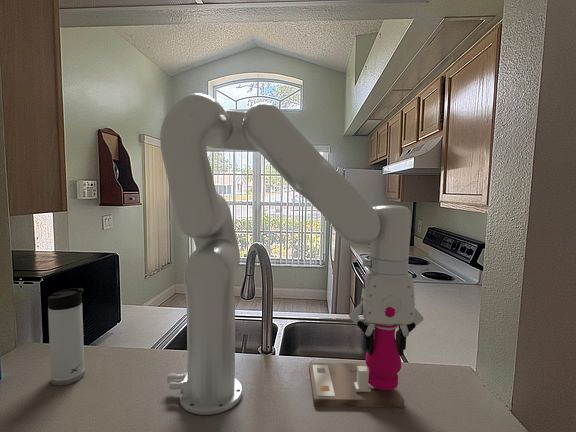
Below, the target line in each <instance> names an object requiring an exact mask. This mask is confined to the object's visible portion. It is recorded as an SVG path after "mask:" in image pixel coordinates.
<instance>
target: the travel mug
mask: <svg viewBox="0 0 576 432" xmlns="http://www.w3.org/2000/svg"><path fill="white" fill-rule="evenodd" d="M83 293H84V288H83V287H79V288H78V287H76V288H75V287H74V288H67V289H62V290H58V291H56V292H54V293H51V294H50V295H49V296H48V297H47V303H48V304H47V305H48V306H47V307H48V308H47V310H48V311H47V314H48V315H47V318H48V337H49V338H48V340H49V341H48V342H49V363H50V364H49V366H50V383H51V384H52V385H55V386H67V385H71V384H73V383H76V382H78V381H79V380H81V379H82V378H83V377H84V376H85V352H84V349H85V347H84V322H83V321H84V320H83V315H84V314H83V302H82V301H83V300H82V298H83V297H82V294H83Z"/></svg>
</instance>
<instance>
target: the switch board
mask: <svg viewBox="0 0 576 432" xmlns="http://www.w3.org/2000/svg"><path fill="white" fill-rule="evenodd" d="M308 365H309V366H308V370H309V372H308V373H309V379H310V385H311V394H312V401H313V407H340V408H341V407H345V408H346V407H349V408H351V407H353V408H354V407H355V408H366V407H367V408H405V399H404V396H403V395H402V393H401V391H400V389H399V388H398V386H397V387H396V388H395V389H392V390H381V389H377V388H375V387H373V386H371V385H370V384H369V386H370V388H371V392H356V390H355V387H354V382H357V366H367V365H366V363H362V362H361V363H360V362H359V363H353V362H350V363H349V362H348V363H346V362H345V363H344V362H338V363H337V362H309V363H308ZM367 368H368V367H367Z"/></svg>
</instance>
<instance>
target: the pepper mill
mask: <svg viewBox="0 0 576 432" xmlns="http://www.w3.org/2000/svg"><path fill="white" fill-rule="evenodd" d="M385 310H386V311H384V312H385V316H387V317H389V318H390V317H393V316H394V315H395V313H396V312H394V311H395V309H394V308H392V307H388V308H386V309H385ZM397 329H398V325H380V324H375V326H374V328H373V331H374V333H373V337H374V343H373V354H372V355H369V353H368V352H367V351H366V354H365V358H364V359H365V362H364V363H365V364H366V365H367V367H368V368H369V369H368V370H369V382H368V383H369V384H370V385H371V386H373V387H375V388H377V389H381V390H392V389H395V388H396V387H397V388H398V385H399V374H398V373H399V372H400V371H401V369H402V358H401V356H400V355H399V351H398V349H397V346H396V342H395V340H396V330H397Z"/></svg>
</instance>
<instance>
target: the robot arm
mask: <svg viewBox="0 0 576 432" xmlns="http://www.w3.org/2000/svg"><path fill="white" fill-rule="evenodd" d="M159 136H160V138H159V140H160V142H159V143H160V151H161V156H162V160H163V165H164V169H165V172H166V177H167V183H168V188H169V193H170V196H171V200H172V205H173V209H174V213H175V214H174V216H175V221H176V223H177V226H178V228H179V230H180V231H181V232H182V234H183V235H184V236H186V237H187V238H190V239H193V241H194V246H195V250H194V251H193V252H191V254H190V255H189V257H188V259H187V260H186V263H185V265H184V270H183V286H184V293H185V303H186V327H187V328H186V335H187V336H186V341H187V342H186V347H187V349H186V350H187V353H186V354H187V355H186V356H187V357H186V358H187V365H186V366H187V367H186V368H187V371H185V372H183V373H168V375H167V377H166V378H167V379H166V383H167V384H169V386H168V388H169V390H180V393H179V403H180V406H181V407H182V408H183V409H184V410H185V411H186V412H189V413H192V414H195V415H203V416H205V415H208V416H210V415H215V414H221V413H223V412H226V411H228V410H229V409H231V408H233V407H235V406H236V405H237V404H238V403H239V402H240V400H241V399H242V396H243V386H242V384H241V382H240V381H239V379H237V378H236V376H235V373H236V364H235V363H236V302H235V301H236V300H235V299H236V298H235V297H236V296H235V277H236V273H237V271H238V269H239V267H240V262H241V254H240V253H241V252H240V248H239V242H238V239H237V234H236V231H235V225H234V221H233V216H232V211H231V209H230V205H229V204H228V202H227V200H226V199H225V197H224V196H223V195H221V194H219V193H218V192H217V189H216V185H215V181H214V177H213V171H212V167H211V163H210V160H209V157H208V153H207V152H208V151H207V147H209V148H214V149H223V150H224V149H227V150H234V151H235V150H236V151H247V152H252V151H253V152H259V153H260V155H261V156H262V157H264V159H265V160H266V161H267V162H268V163H269V164H270V165H271V167H272V168H274V170H275V171H276V172H278V174H279V175H280V176H281V177H282V178H283V180H285V182H286V183H287V184H288V185H289V186H290V187H291V188H292V189H293V190H294V191H296V193H298V194H299V195H301V196H302V197H303V198H305V199H306V200H307V201H308V202H309V203H310V204H312V206H313V207H315V209H316V210H317V211H318V212H319V213H320V214H321V215H322V216H323V217H324V218H325V219H326V220H327V221H328V222H329V223H330V224H331V226H332V228H333V230H334V231H335V233H336V234H337V235H338V236H340V237H341V238H342V239H343V240H344V241H346V242H347V243H348V244H351V245H353V246H359V247H360V246H361V247H362V246H366V245H369V244H370V251H369V256H368V258H367V259H363V260H362V267H363V268H364V267H366V268H368V270H366V271H365V274H364V279H363V283H362V289H361V295H360V296H361V297H360V302H359V304H357V306H356V307H354V309H353V310H351V312H350V313H349V314H348V317H349V319H350V320H351V321H352V322H353V323H354V324H355V325H356V326H357V327H358V328H359V329H360V330H361V331H362V332H363V349H365V350H366V353H367V352H368V353H369V355H372V354H373V343H374V334H373V331H374V326H375V324H380V325H398V327H397V330H396V331H395V342H396V346H397V349H398V351H399V355H400V357H401V356H404V350H406V348H407V337H409V335H410V333H411V332H412V331H413V330H414V329H415V328H416V327H417V326H418V325H419V324H421V322H423V321H424V319H425V318H424V317H423V315H422V314H421V313H420V312H419V310H418V309H417V307H416V301H415V300H416V298H415V288H414V278H413V275H412V273H409V257H410V242H411V241H410V240H411V239H410V238H411V221H412V213H411V212H412V211H411V210H410V208H408V207H407V206H403V205H394V204H393V205H389V204H387V205H386V204H382V205H375V206H374V205H371V204H370V203H369V202H368V201H367V200H366V199H365V198H364V196H363V195H362V194H361V193H360V192H359V191H358V190H357V189H356V188H355V187H354V186H353V185H352V183H351V182H350V181H348V179H347V178H346V177H344V176H343V175H342V173H340V172H339V171H338V170H337V169H336V168H335V167H334V165H332V164H331V162H329V161H328V160H327V159H326V158H325V157H324V156H323V155H322V154H321V152H319V150H317V148H315V146H314V145H313V144H312V143H311V141H309V140H308V139H307V137H305V136H304V134H303V133H302V132H301V131H300V130H299V129H298V128H297V126H296V125H295V124H294V123H293V122H292V121H291V120H290V119H289V118H288V116H286V114H285V113H284V112H283V111H282V110H281V109H280V108H278V106H276V105H275V104H272V103H270V102H266V101H265V102H263V101H261V102H257V103H256V104H253V105H252V106H251V107H249V109H247V111H241V110H234V109H233V110H231V109H224V107H223V106H222V105H221V103H219V102H218V100H216V99H215V98H213V97H212V96H209V95H207V94H204V93H191V94H188V95H186V96H184V97H182V98H180V99H179V100H178V101H177V102H175V103H174V104H173V105H172V106H171V107H170V108H169V110H168V112H167V113H166V115H165V117H164V119H163V121H162V125H161V129H160V135H159ZM388 307H392V308H394V309H395V311H394V312H396V313H395V315H394V316H393V317H390V318H389V317H387V316H385V312H384V311H386V310H385V309H386V308H388ZM360 315H361V316H362V317H363V319H364V321H363V320H362V319H361V318H359V316H360Z"/></svg>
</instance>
